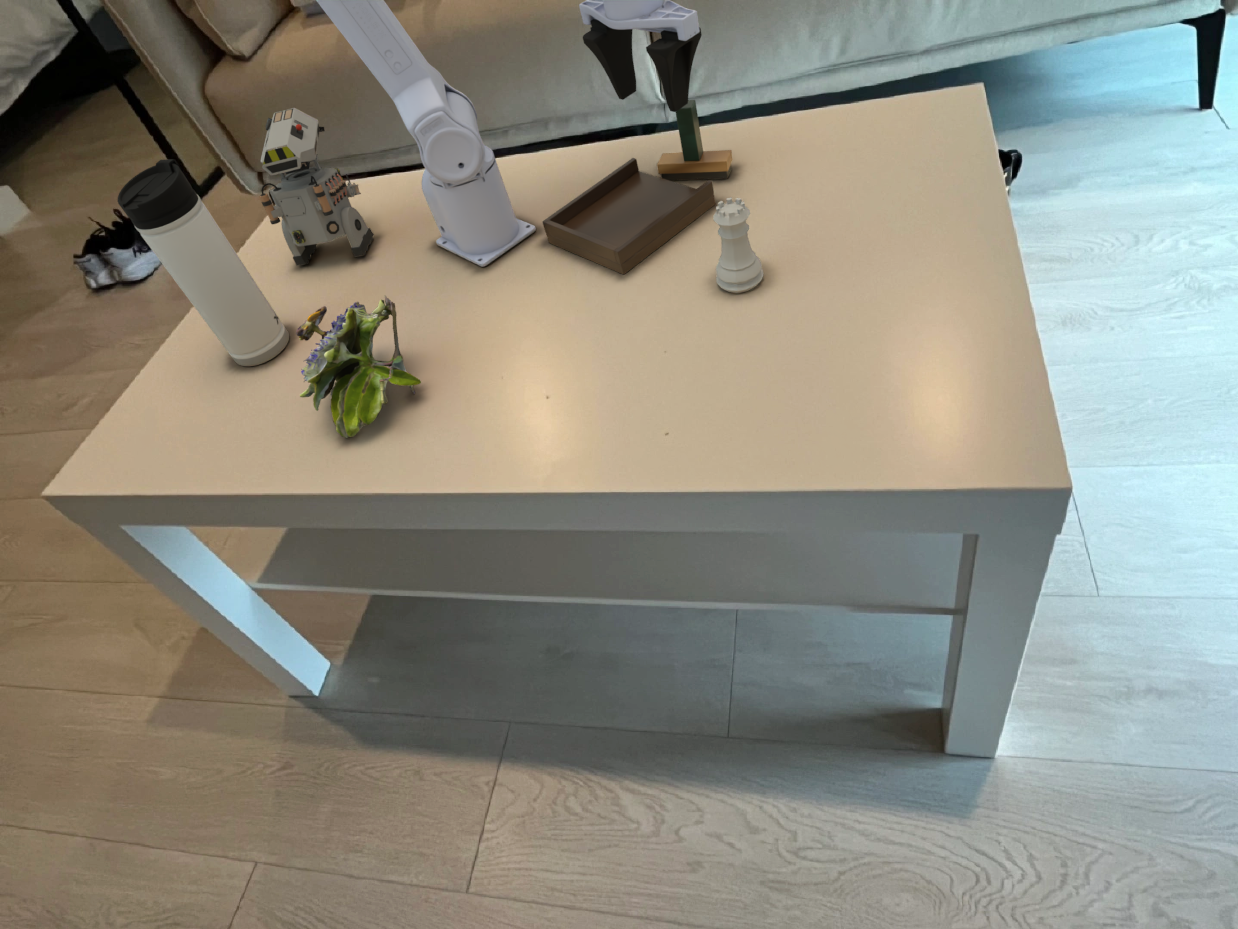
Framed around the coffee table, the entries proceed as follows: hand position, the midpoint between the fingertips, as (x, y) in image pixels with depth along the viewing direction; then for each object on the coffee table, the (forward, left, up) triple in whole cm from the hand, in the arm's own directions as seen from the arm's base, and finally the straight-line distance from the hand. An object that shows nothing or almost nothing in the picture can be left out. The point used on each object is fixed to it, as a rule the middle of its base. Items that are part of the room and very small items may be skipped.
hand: (652, 100), depth 85 cm
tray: (+2, -8, -9) cm, 13 cm away
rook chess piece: (+19, -10, -10) cm, 24 cm away
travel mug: (-19, -44, -10) cm, 49 cm away
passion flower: (0, -40, -10) cm, 42 cm away
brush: (+2, +3, -9) cm, 10 cm away
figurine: (-29, -28, -10) cm, 41 cm away
